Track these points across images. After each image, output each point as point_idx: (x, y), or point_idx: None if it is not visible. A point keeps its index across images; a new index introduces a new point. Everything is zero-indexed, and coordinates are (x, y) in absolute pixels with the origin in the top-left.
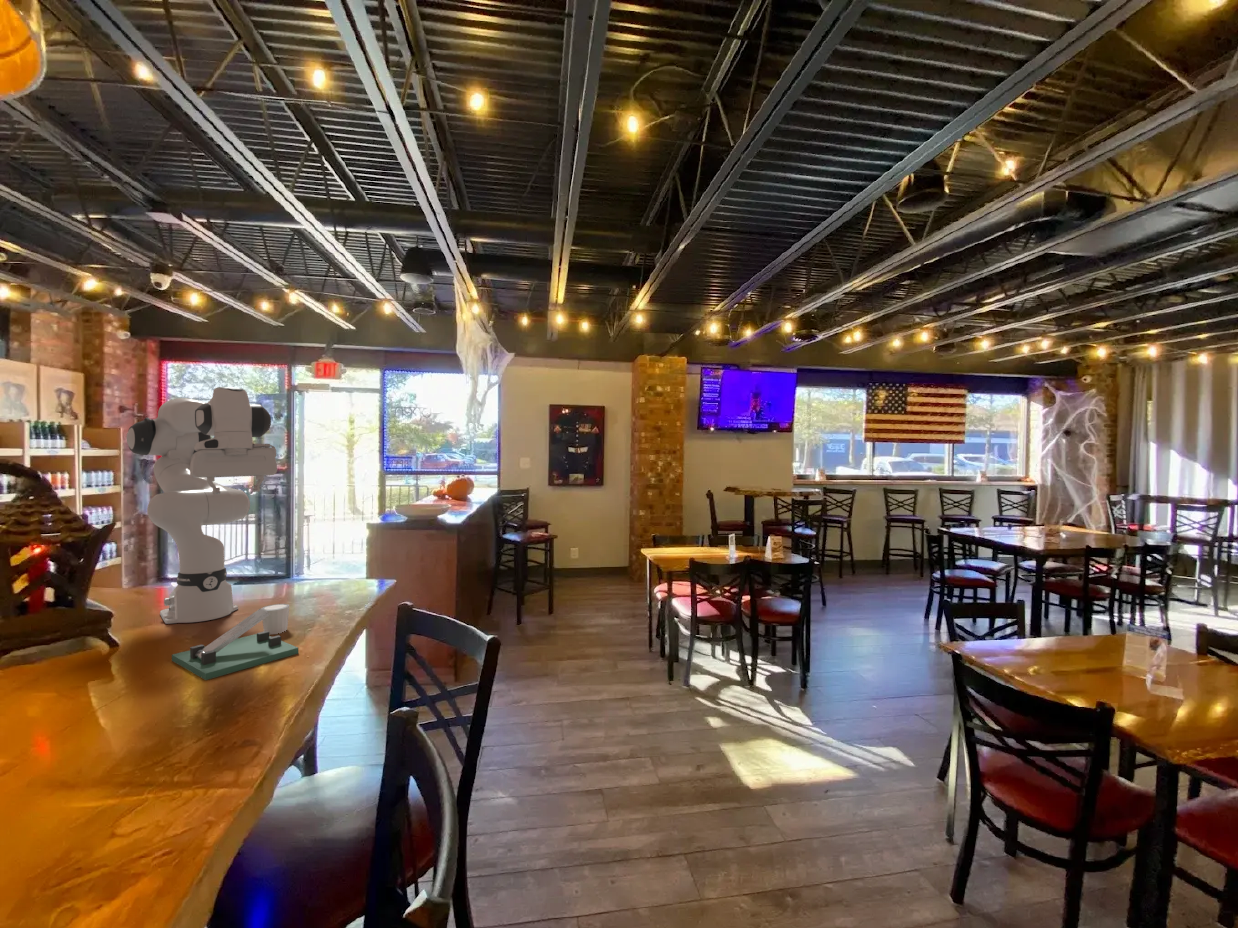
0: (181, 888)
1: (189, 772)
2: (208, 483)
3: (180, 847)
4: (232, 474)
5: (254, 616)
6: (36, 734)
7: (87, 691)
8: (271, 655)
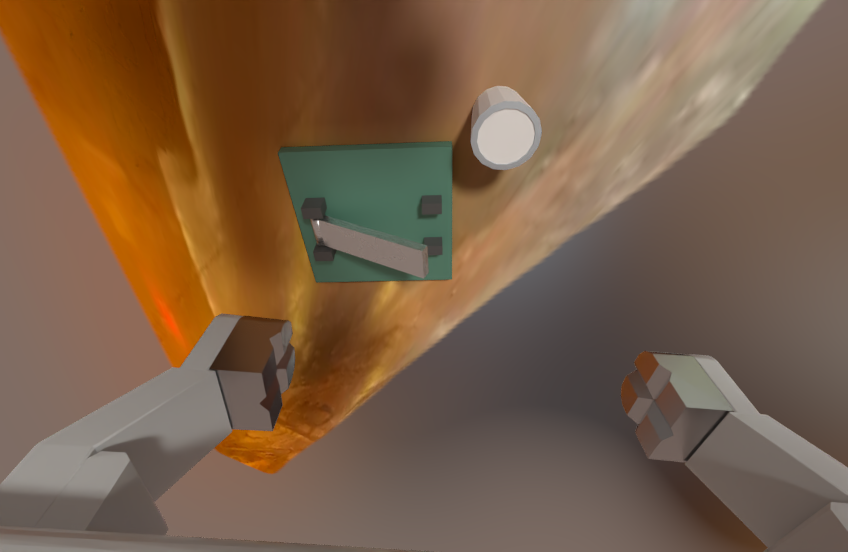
0: (276, 469)
1: (284, 414)
2: (91, 434)
3: (276, 455)
4: None
5: (404, 259)
6: (152, 292)
7: (168, 198)
8: (408, 279)
